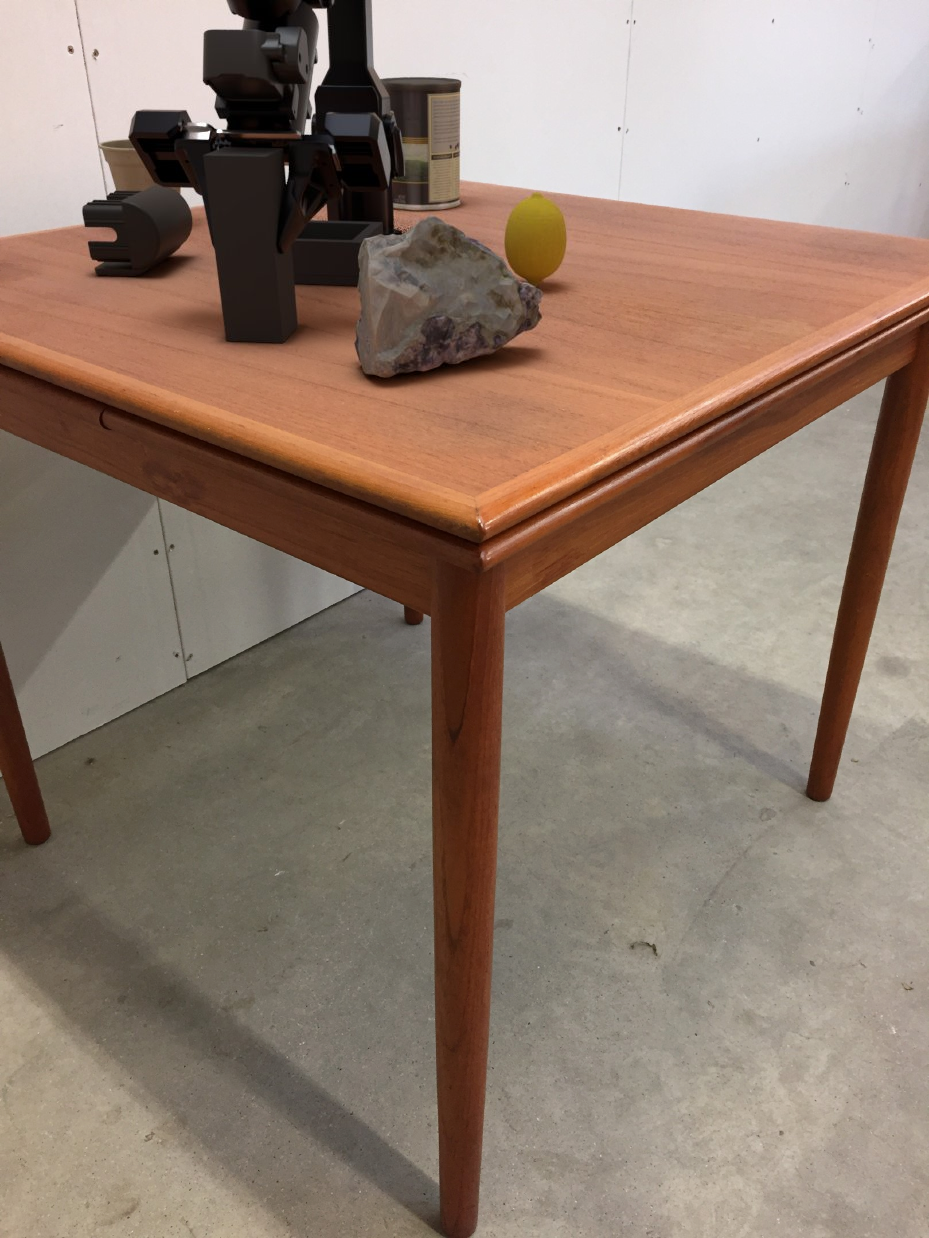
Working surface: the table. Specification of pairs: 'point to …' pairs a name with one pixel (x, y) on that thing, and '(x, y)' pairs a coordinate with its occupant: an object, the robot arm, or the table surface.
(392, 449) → the table surface
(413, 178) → the coffee can
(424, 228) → the mineral rock
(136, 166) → the flower pot
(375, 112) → the robot arm
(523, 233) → the lemon
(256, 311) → the pad block
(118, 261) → the end cap
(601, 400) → the table surface
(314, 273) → the socket pad
